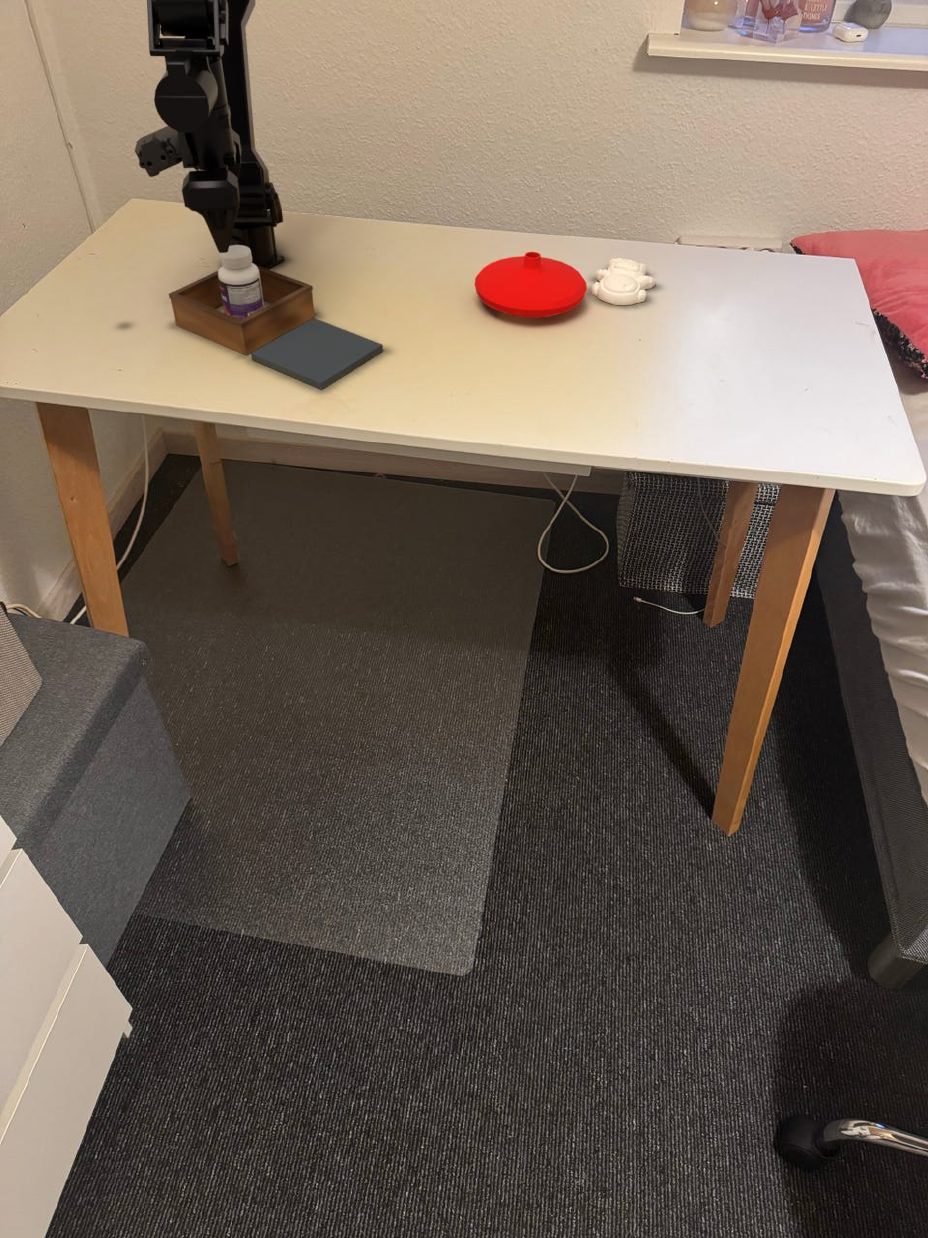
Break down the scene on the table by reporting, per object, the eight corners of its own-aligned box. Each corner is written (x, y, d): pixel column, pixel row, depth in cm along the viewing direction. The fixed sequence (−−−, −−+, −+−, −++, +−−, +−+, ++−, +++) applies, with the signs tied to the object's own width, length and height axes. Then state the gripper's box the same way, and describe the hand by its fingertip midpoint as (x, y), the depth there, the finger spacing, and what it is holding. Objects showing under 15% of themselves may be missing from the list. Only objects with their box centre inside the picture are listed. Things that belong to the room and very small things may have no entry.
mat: (314, 324, 128) (313, 317, 127) (383, 351, 123) (382, 344, 122) (251, 359, 121) (250, 352, 120) (321, 389, 116) (320, 382, 115)
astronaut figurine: (661, 276, 140) (665, 256, 138) (638, 310, 132) (642, 289, 130) (605, 265, 143) (608, 245, 141) (580, 297, 135) (582, 277, 133)
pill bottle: (228, 312, 130) (216, 242, 123) (267, 311, 130) (257, 241, 124) (224, 331, 126) (211, 260, 119) (264, 330, 127) (254, 259, 120)
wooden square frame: (246, 289, 135) (241, 259, 132) (315, 316, 130) (312, 285, 126) (175, 325, 127) (168, 293, 124) (246, 355, 122) (241, 323, 119)
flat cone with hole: (455, 314, 131) (455, 265, 126) (500, 270, 141) (503, 223, 136) (560, 340, 126) (565, 290, 121) (600, 292, 136) (606, 244, 131)
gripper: (138, 80, 114) (164, 210, 126) (122, 132, 101) (153, 272, 113) (231, 77, 116) (249, 206, 127) (227, 129, 103) (248, 267, 114)
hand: (224, 236), depth 120 cm, fingers open, 9 cm apart
